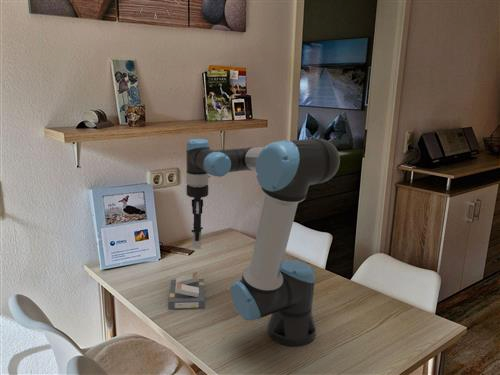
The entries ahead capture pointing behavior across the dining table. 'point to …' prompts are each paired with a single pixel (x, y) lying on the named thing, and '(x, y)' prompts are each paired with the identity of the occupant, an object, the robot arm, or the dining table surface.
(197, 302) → the switch unit
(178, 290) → the rocker front
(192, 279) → the rocker rear
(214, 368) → the dining table surface
